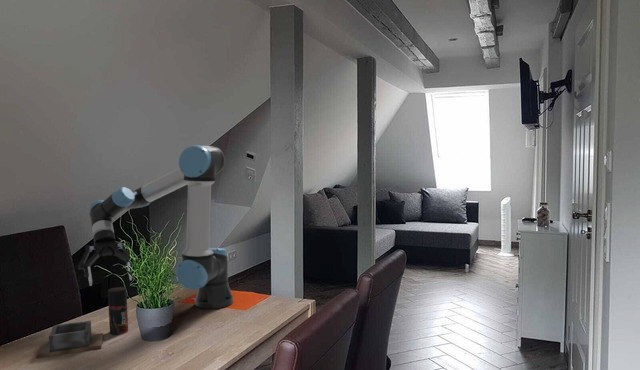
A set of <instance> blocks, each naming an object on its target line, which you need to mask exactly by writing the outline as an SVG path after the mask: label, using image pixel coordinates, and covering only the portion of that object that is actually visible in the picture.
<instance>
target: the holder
mask: <svg viewBox="0 0 640 370" xmlns="http://www.w3.org/2000/svg"><path fill="white" fill-rule="evenodd" d="M103 338H104V332H101V333H100V332H99V333H95V334H92V320H86V321H77V322H68V323H62V324H61V323H60V324H54V325H53V327H52V328H51V330H50V333H49V335H48V340H44V341H42V342H41V345H40V347H39V349H38V350H37V353H36V355H35V356H36V359H40V358H46V357H52V356H59V355H66V354H72V353H73V354H74V353H80V352H85V351H86V352H87V351H92V350H100V349H102V345H103V340H104V339H103Z"/></svg>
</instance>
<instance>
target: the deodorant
mask: <svg viewBox="0 0 640 370" xmlns="http://www.w3.org/2000/svg"><path fill="white" fill-rule="evenodd" d="M107 301H108V302H107V303H108V319H109V320H108V321H109V334H110V335H112V336H119V335H124V334H126V333H128V332H129V317H128V315H129V314H128V296H127V287H125V286H118V287H112V288H109V289H107Z"/></svg>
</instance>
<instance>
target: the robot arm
mask: <svg viewBox="0 0 640 370" xmlns="http://www.w3.org/2000/svg"><path fill="white" fill-rule="evenodd" d="M225 165H226V157H225V154H224V152H223V151H222V150H221V148H219V147H217V146H214V145H205V144H204V145H203V144H196V145H190V146H188V147H186V148H184V150H183V151H182V152H181V153H180V156H179V159H178V167H177V168H176V169H174V170H172V171H170V172H168V173H165V174H164V175H161V176H160V177H158V178H156V179H154V180H152V181H150V182H148V183H146V184H143V185H142V186H140V187H138V188H135V189H133V190H132V189H130V188H128V187H125V186H122V187H121V186H120V187H119V188H118V189H115V191H113V192H112V193H111V194H110V195H109V196H108V197H107V198H106V199H105V198H104V200H103V199H97V200H94V201H92V202H91V204H89V217H90V223H91V229H92V230H91V231H92V237H93V245H90V244H86V246H85V251H84V253H83V254H82V257H81V259H80V260H79V263H78V266H77V267H78V270H79V271H80V270H82V271H83V272H84V277H85V278H87V279H88V283H89V287H92V285H93V277H92V272H91V271H92V270H91V266H92V265H93V264H94V263H96V261H97V260H98V259H99V258H100V257H101V256H102V257H107V256H108V257H110V256H115V257H117V258H118V259H120V260H121V261H123V262H124V263H126V268H127V273H128V271H130V268H129V267H127V266H130V265H131V263H130V262H129V260H128V259H129V251H127V250H125V248H124V246H123V245H122V244H121V243H122V242H120V243H118V242H117V241H116V235H115V230H114V226H113V225H114V224H113V219H114V218H115V217H117V215H119V214H120V213H122V212H123V211H127V210H132V209H138V208H144V207H147V206H149V205H150V204H151V203H152V202H154V201H155V200H158V199H160V198H162V197H164V196H166V195H168V194H171V193H172V192H175V191H176V190H179V189H181V188H182V187H185V186H187V207H186V208H187V211H186V214H187V215H186V240H185V241H186V243H185V244H186V246H185V249H184V250H183V251H182V252H181V262H180V263H179V264H178V265H177V267H176V272H175V274H176V275H175V276H176V278H177V276H178V277H179V279H178V278H177V282H178V283H179V284H180V285H182V287H183V288H185V289H188V290H191V291H192V290H194V291H195V290H197V293H196V296H195V302H194V303H195V307H196V308H198V309H206V310H212V309H220V308H225V307H228V306H230V305H232V304H233V303H234V297H233V293H232V290H231V288H230V285H229V272H228V271H229V269H228V264H229V263H228V257H229V256H228V251H227V249H226V248H223V247H210V246H211V245H210V242H211V241H210V239H211V236H210V235H211V203H212V202H211V201H212V199H211V198H212V197H211V196H212V186H213V184H215V183H216V175H217V174H220V172H221V171H222V170H223V169H224V168H225ZM119 249H120V250H122V251H123V252H122V251H120V250H119ZM93 251H94V253H93V254H92V256H91V257H90V258H89V259H88V257H89V255H90V253H91V252H93ZM87 259H88V260H87ZM132 276H133V275H132ZM132 276H131V275H130V274H129V273H128V277H129V281H132V280H133V277H132Z"/></svg>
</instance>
